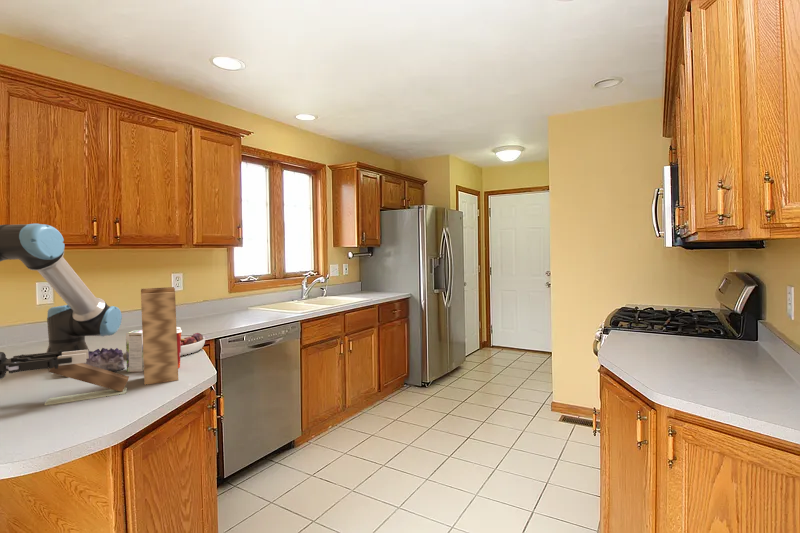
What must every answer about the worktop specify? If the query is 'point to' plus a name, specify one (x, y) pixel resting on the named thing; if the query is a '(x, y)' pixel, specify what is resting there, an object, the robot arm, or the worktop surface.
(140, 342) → the syrup box
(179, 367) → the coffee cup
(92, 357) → the geode
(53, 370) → the walnut bar
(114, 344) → the worktop surface
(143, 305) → the oak pedestal
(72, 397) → the sage mat
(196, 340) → the bowl
